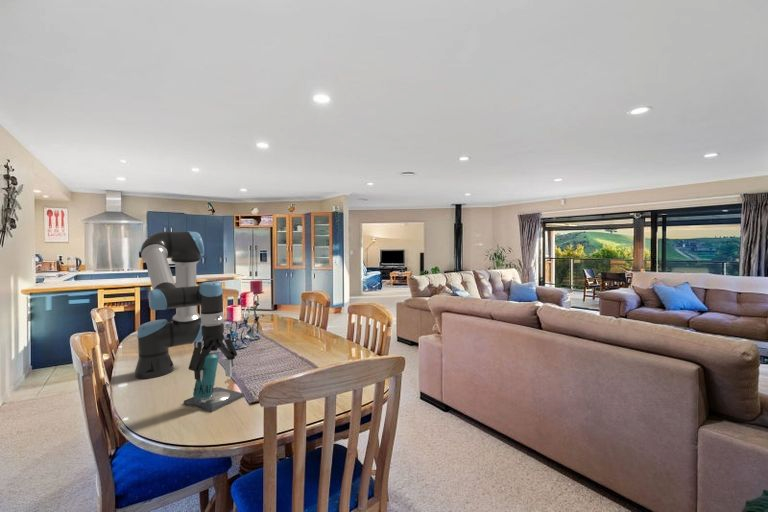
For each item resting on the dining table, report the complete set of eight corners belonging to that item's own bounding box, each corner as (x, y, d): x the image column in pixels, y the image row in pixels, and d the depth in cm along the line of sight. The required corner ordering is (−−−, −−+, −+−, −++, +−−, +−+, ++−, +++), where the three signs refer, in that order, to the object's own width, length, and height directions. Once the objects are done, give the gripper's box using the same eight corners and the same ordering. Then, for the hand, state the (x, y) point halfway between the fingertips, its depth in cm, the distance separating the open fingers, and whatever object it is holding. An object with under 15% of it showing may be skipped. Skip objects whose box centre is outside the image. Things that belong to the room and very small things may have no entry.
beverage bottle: (196, 397, 136) (206, 342, 140) (214, 399, 137) (224, 344, 140) (188, 401, 130) (199, 343, 133) (207, 403, 130) (217, 345, 134)
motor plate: (183, 403, 136) (183, 400, 136) (216, 389, 148) (216, 386, 148) (211, 412, 129) (211, 408, 129) (244, 396, 141) (244, 393, 141)
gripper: (188, 332, 125) (191, 395, 126) (245, 318, 146) (247, 372, 147) (175, 330, 128) (178, 392, 129) (232, 316, 149) (234, 369, 150)
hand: (215, 381), depth 138 cm, fingers open, 11 cm apart
